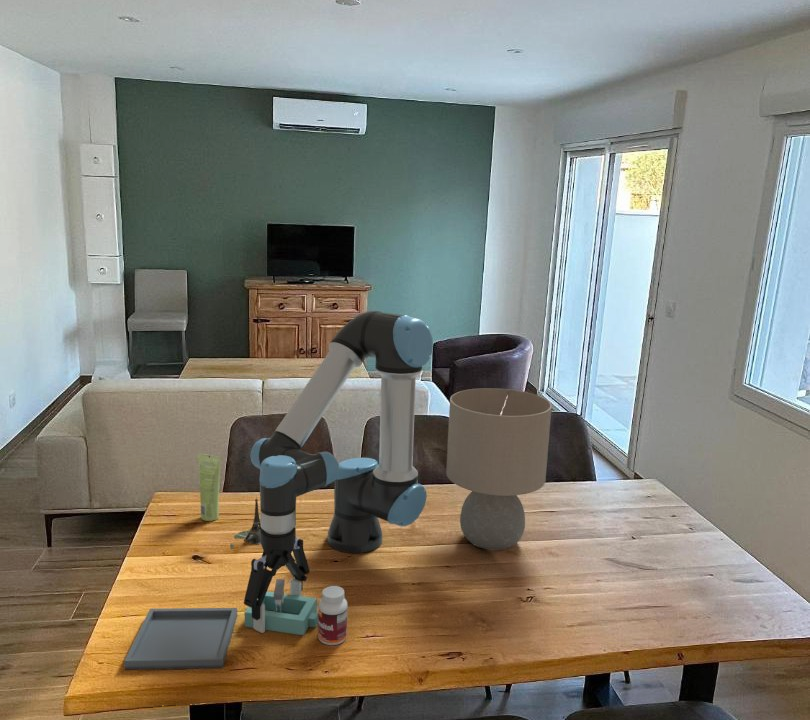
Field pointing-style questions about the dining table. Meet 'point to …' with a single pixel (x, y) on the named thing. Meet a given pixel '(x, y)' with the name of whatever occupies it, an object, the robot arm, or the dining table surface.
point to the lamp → (497, 460)
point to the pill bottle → (332, 616)
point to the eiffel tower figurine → (251, 530)
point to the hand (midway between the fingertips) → (278, 617)
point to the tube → (209, 486)
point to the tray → (182, 639)
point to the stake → (279, 595)
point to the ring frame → (287, 621)
